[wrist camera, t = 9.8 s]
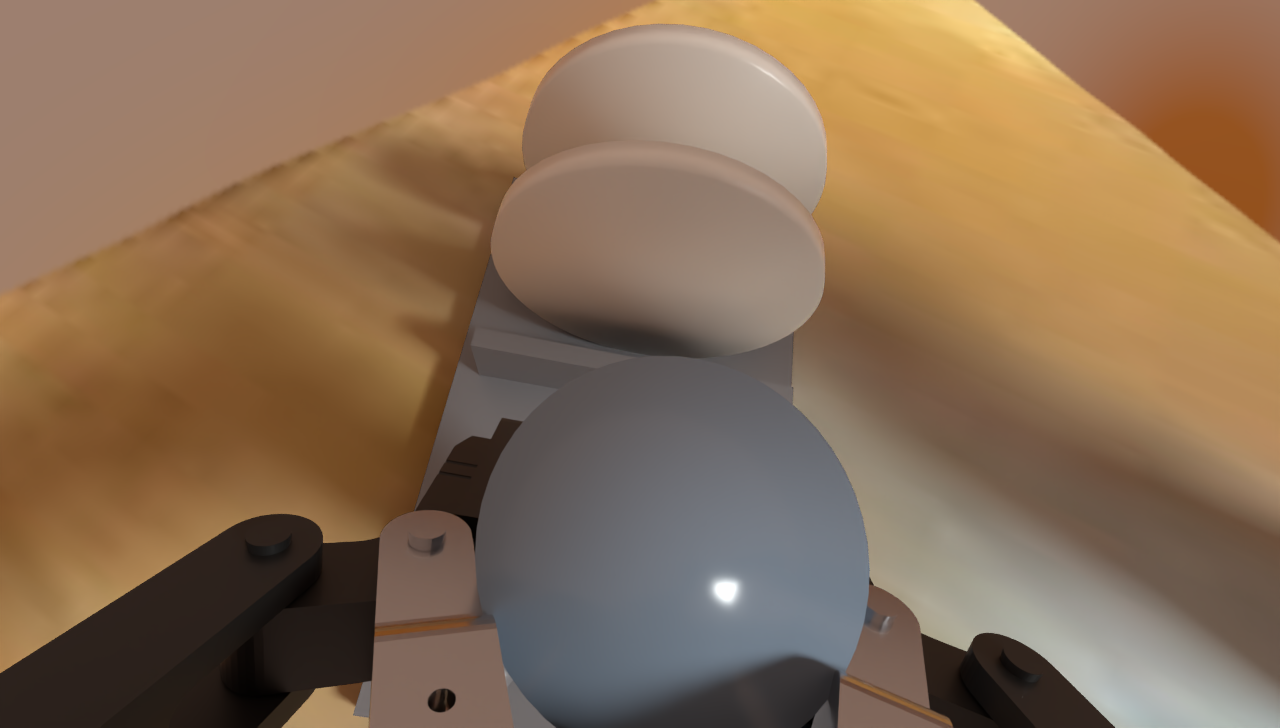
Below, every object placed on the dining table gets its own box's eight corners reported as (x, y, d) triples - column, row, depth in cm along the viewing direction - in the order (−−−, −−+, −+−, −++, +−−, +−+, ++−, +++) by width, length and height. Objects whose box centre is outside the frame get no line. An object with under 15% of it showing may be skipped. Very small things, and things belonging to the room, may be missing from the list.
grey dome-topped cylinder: (708, 509, 17) (866, 391, 9) (689, 705, 15) (874, 803, 7) (537, 479, 17) (526, 325, 8) (494, 675, 15) (420, 737, 6)
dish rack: (789, 248, 33) (927, 28, 21) (764, 769, 23) (1006, 931, 11) (514, 192, 32) (492, -73, 20) (363, 710, 22) (127, 816, 10)
